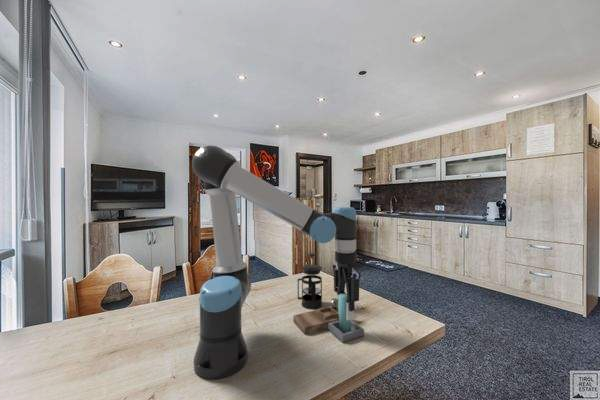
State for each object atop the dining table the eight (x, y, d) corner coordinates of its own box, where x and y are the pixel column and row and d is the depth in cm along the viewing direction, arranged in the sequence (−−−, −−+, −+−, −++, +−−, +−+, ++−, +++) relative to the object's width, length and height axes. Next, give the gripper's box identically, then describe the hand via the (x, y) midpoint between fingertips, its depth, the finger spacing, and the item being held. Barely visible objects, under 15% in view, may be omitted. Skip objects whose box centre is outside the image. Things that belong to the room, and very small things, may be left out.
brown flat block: (304, 336, 88) (304, 324, 87) (293, 323, 97) (293, 312, 97) (342, 325, 94) (342, 314, 94) (328, 314, 103) (328, 304, 103)
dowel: (343, 333, 86) (341, 299, 85) (337, 327, 89) (336, 294, 89) (353, 330, 87) (351, 296, 87) (347, 325, 91) (345, 292, 90)
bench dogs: (341, 322, 96) (341, 306, 96) (329, 313, 103) (329, 299, 103) (347, 320, 97) (347, 305, 97) (335, 312, 105) (335, 297, 104)
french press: (321, 299, 117) (321, 251, 117) (325, 308, 108) (325, 255, 108) (296, 301, 116) (296, 251, 115) (298, 310, 106) (298, 256, 106)
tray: (342, 343, 82) (342, 335, 82) (328, 330, 91) (328, 323, 90) (364, 336, 86) (364, 329, 86) (348, 324, 94) (348, 317, 94)
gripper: (370, 254, 82) (370, 324, 82) (340, 245, 97) (340, 304, 98) (352, 257, 79) (352, 330, 79) (323, 247, 94) (324, 308, 94)
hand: (346, 316), depth 88 cm, fingers closed on dowel, 4 cm apart
